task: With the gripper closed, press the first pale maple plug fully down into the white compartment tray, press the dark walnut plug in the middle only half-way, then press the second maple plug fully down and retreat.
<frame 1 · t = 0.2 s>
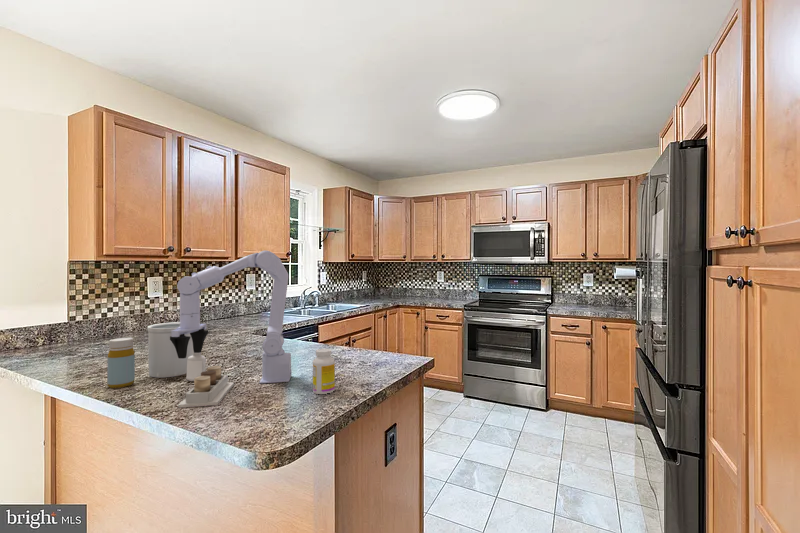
hand: (190, 355, 117), 10 cm above the countertop, tool pointing down, fingers open, 7 cm apart
utensil holder: (171, 373, 133), on the countertop
maple plug B: (202, 384, 103), point 5 cm above the countertop, slide at 0.0 cm
maple plug A: (214, 373, 114), point 5 cm above the countertop, slide at 0.0 cm
supplement bottle: (323, 392, 111), on the countertop
walnut plug: (208, 379, 109), point 5 cm above the countertop, slide at 0.0 cm
eye dropper bottle: (195, 380, 123), on the countertop
white compartment tray: (208, 395, 108), on the countertop
bottle: (121, 385, 118), on the countertop
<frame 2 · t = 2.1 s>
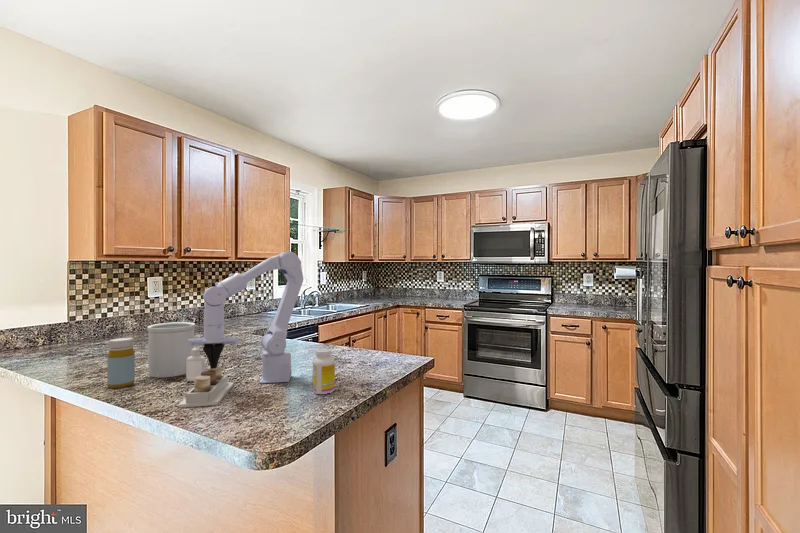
hand: (213, 367, 114), 7 cm above the countertop, tool pointing down, fingers closed, pressing on maple plug A
maple plug A: (214, 374, 114), point 5 cm above the countertop, slide at 0.1 cm, touching gripper
everything else where it was.
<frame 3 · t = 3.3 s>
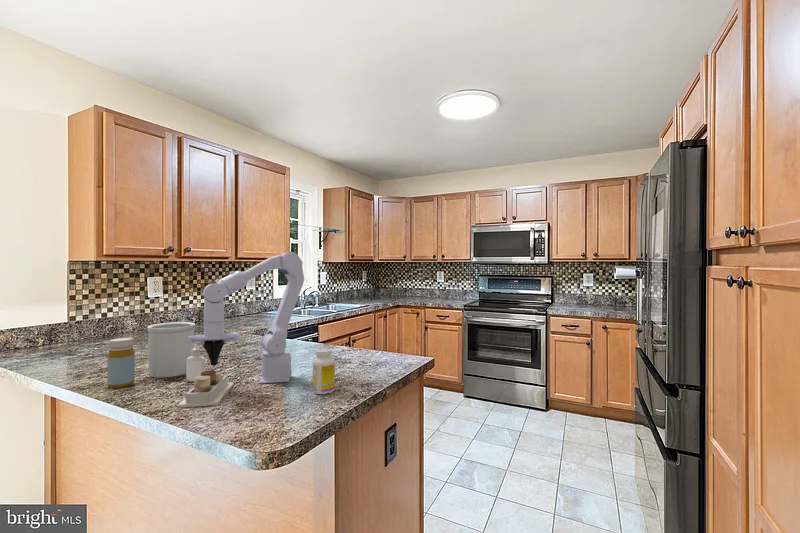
hand: (214, 364, 114), 8 cm above the countertop, tool pointing down, fingers closed
maple plug A: (214, 380, 114), point 3 cm above the countertop, slide at 2.0 cm
everything else where it was.
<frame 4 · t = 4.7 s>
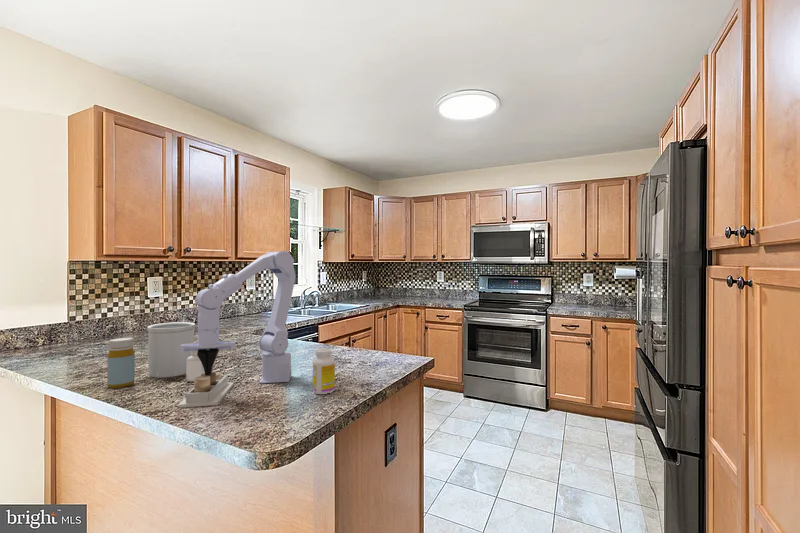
hand: (208, 374, 109), 6 cm above the countertop, tool pointing down, fingers closed, pressing on walnut plug
walnut plug: (208, 380, 109), point 4 cm above the countertop, slide at 0.5 cm, touching gripper
everything else where it was.
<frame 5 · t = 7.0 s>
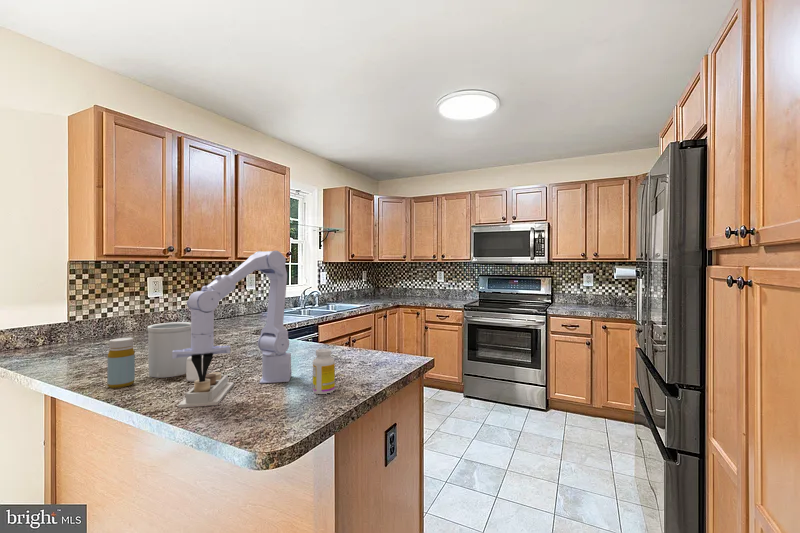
hand: (202, 380, 103), 6 cm above the countertop, tool pointing down, fingers closed, pressing on maple plug B
maple plug B: (202, 387, 103), point 4 cm above the countertop, slide at 0.9 cm, touching gripper
walnut plug: (208, 382, 109), point 4 cm above the countertop, slide at 1.0 cm
everything else where it was.
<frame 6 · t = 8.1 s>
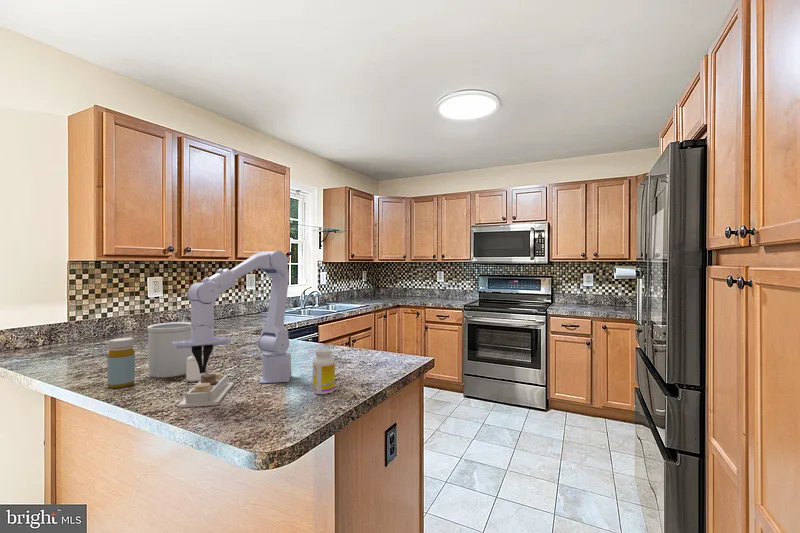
hand: (202, 372, 103), 8 cm above the countertop, tool pointing down, fingers closed
maple plug B: (202, 391, 103), point 3 cm above the countertop, slide at 2.0 cm
everything else where it was.
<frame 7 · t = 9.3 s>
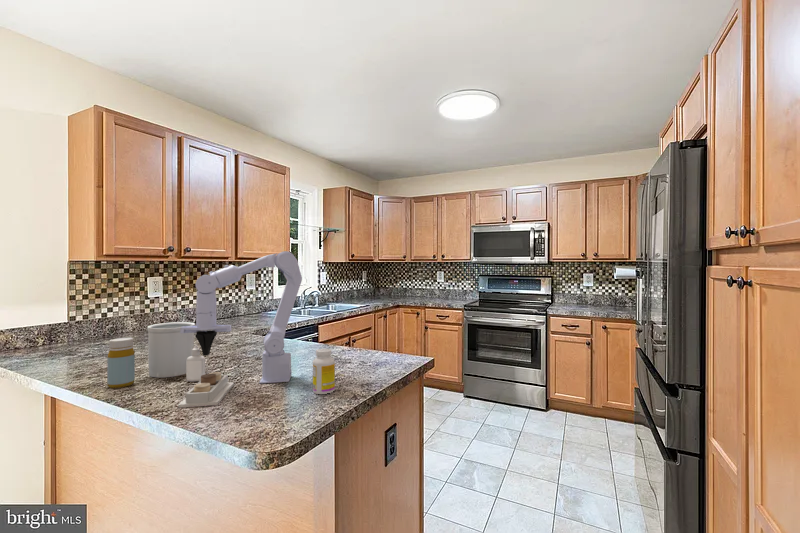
hand: (206, 354, 116), 10 cm above the countertop, tool pointing down, fingers closed
nothing on the countertop moved.
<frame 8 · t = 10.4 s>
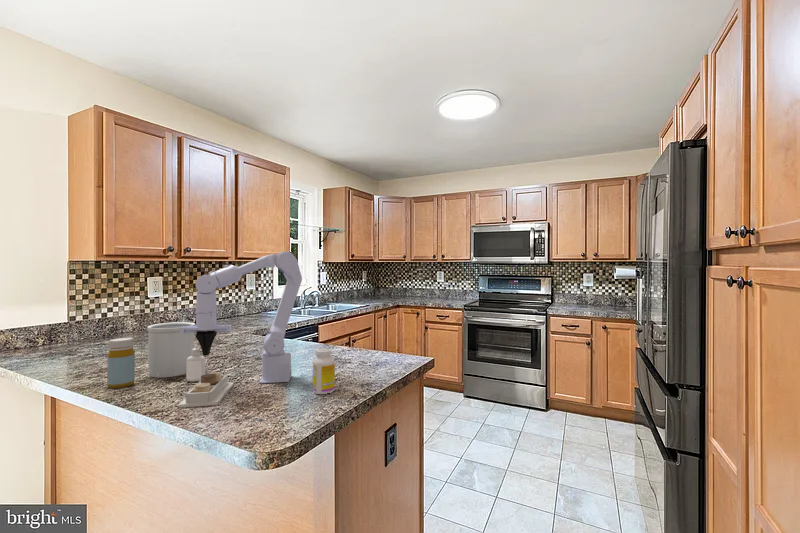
hand: (206, 354, 116), 10 cm above the countertop, tool pointing down, fingers closed
nothing on the countertop moved.
at the end: maple plug A slide at 2.0 cm; maple plug B slide at 2.0 cm; walnut plug slide at 1.0 cm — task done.
